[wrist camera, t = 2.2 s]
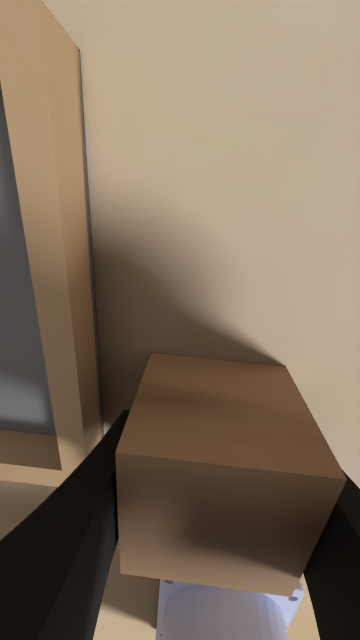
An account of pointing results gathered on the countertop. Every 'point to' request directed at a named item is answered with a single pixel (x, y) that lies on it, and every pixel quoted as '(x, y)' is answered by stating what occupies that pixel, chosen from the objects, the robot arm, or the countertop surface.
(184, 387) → the walnut block
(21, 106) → the slate tray
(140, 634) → the countertop surface
